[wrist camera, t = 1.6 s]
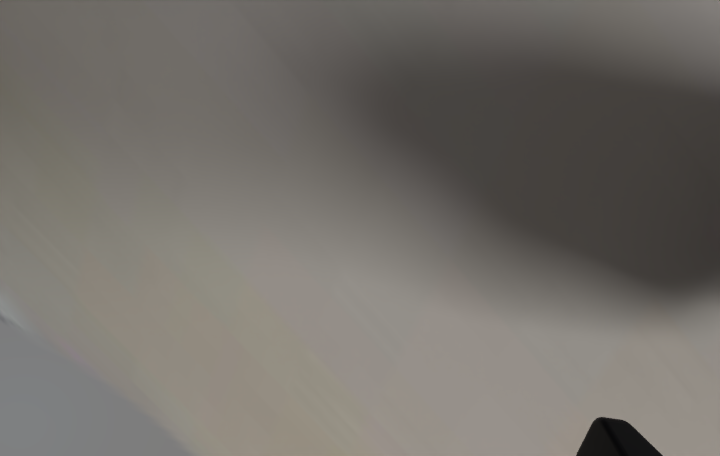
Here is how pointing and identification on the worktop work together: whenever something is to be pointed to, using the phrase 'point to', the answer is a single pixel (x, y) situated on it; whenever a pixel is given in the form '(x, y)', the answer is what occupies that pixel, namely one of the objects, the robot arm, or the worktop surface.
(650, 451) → the robot arm
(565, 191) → the worktop surface
